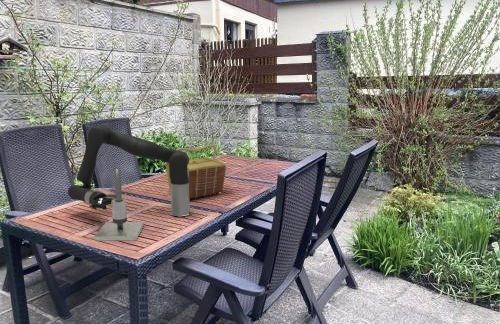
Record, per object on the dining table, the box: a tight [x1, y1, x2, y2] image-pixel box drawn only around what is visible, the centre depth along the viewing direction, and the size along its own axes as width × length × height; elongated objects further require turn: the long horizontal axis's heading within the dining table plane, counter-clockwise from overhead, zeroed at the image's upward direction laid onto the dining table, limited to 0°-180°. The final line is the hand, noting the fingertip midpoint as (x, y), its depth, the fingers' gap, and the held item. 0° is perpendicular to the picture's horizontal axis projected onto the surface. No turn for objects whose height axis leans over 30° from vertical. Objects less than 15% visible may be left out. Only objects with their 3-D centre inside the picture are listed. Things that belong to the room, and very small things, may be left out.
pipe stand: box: [94, 168, 145, 242], centre depth 189 cm, size 18×18×30 cm
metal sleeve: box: [111, 198, 128, 220], centre depth 190 cm, size 6×6×8 cm
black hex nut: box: [112, 216, 128, 224], centre depth 191 cm, size 6×6×2 cm
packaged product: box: [95, 188, 116, 198], centre depth 247 cm, size 18×5×10 cm
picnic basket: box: [165, 144, 227, 200], centre depth 253 cm, size 29×26×30 cm
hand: (114, 205), depth 193 cm, fingers open, 8 cm apart
